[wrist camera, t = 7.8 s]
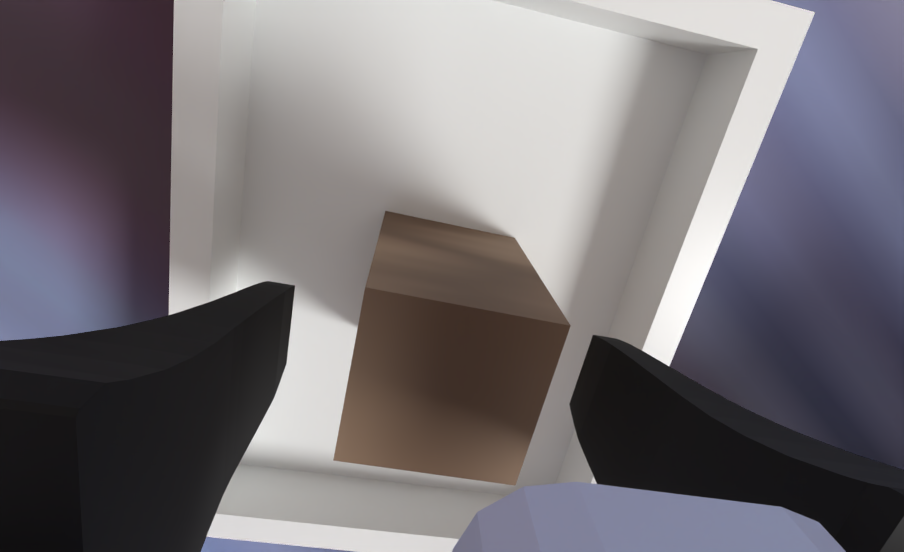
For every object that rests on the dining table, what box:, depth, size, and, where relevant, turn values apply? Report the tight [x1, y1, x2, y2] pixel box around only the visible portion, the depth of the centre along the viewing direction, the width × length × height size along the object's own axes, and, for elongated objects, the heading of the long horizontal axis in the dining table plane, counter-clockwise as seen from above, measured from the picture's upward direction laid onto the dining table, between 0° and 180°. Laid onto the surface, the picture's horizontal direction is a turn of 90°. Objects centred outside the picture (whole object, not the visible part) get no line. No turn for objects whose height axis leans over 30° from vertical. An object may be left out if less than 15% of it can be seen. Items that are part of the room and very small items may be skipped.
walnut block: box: [333, 211, 571, 486], centre depth 13 cm, size 4×4×6 cm
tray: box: [169, 0, 815, 552], centre depth 15 cm, size 14×18×3 cm
